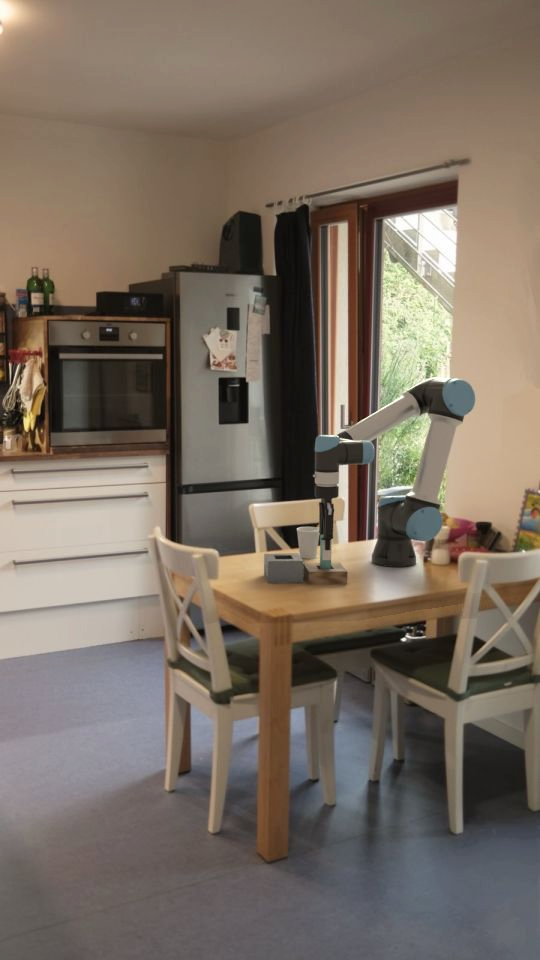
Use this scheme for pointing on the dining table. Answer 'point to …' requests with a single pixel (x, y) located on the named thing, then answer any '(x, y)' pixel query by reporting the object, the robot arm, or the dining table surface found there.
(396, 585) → the dining table surface
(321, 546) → the pin
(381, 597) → the dining table surface
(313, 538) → the dixie cup
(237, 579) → the dining table surface
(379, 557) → the robot arm
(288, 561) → the socket
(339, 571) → the mount
